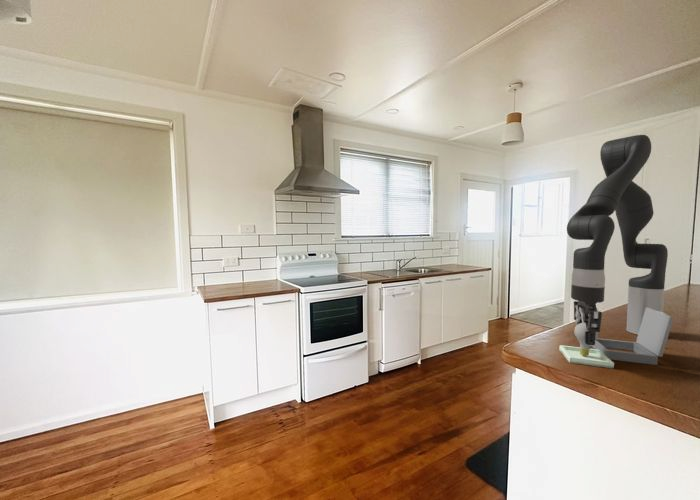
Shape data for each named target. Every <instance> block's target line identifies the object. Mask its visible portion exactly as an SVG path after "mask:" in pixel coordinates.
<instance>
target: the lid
mask: <svg viewBox="0 0 700 500" xmlns="http://www.w3.org/2000/svg"><path fill="white" fill-rule="evenodd" d="M674 319H675V318H674V317H673V316H672V315H669V314H667V313H665V312H664V311H663V312H660V311H656V310H654V309H652V308H649V307H646V309H645V312H644V316H643V319H642V323H641V326H640V330H639V333H638V335H637V338H636V341H635V342H636V343H637V344H639V345H641V346H642V347H644V348H645V349H647V350H648V351H650V352H652V353H653V354H655V355H656V356H658V357H660V358H663V356H664V352H665V349H666V345H667V342H668V339H669V336H670V332H671V329H672V325H673V322H674Z"/></svg>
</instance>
